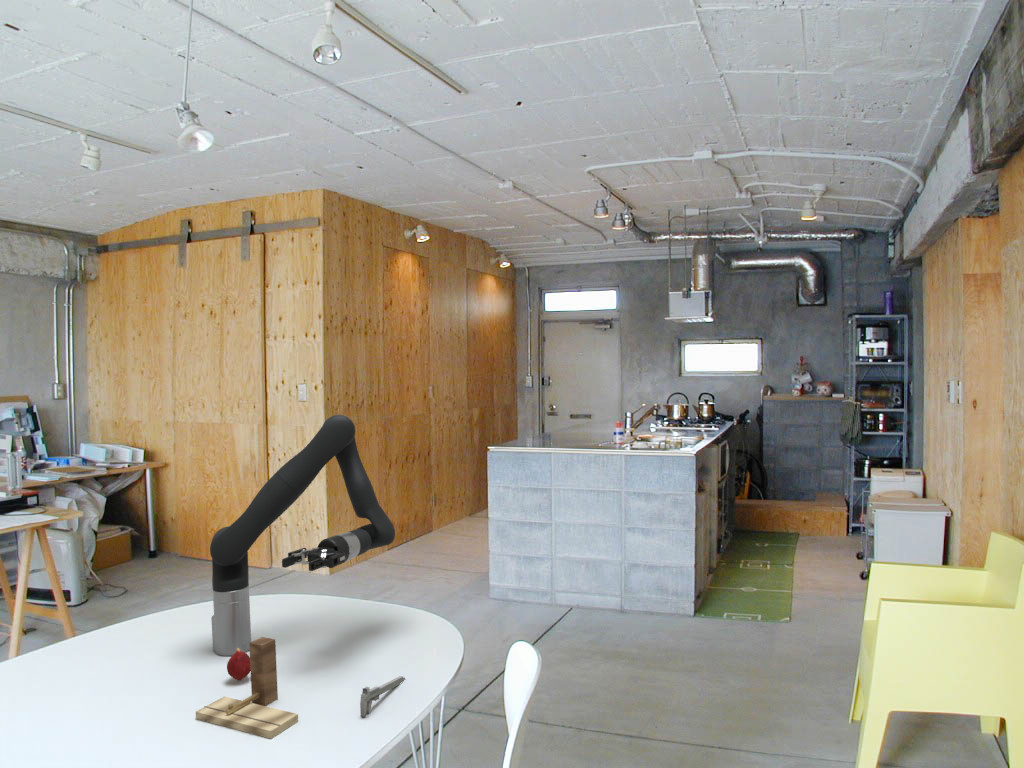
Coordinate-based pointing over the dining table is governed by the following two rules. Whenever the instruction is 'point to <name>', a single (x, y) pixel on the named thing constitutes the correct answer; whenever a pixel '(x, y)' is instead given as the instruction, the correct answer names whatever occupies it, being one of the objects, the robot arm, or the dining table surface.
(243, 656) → the onion
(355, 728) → the dining table surface
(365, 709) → the caliper
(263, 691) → the block
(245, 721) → the board
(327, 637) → the dining table surface
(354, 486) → the robot arm
